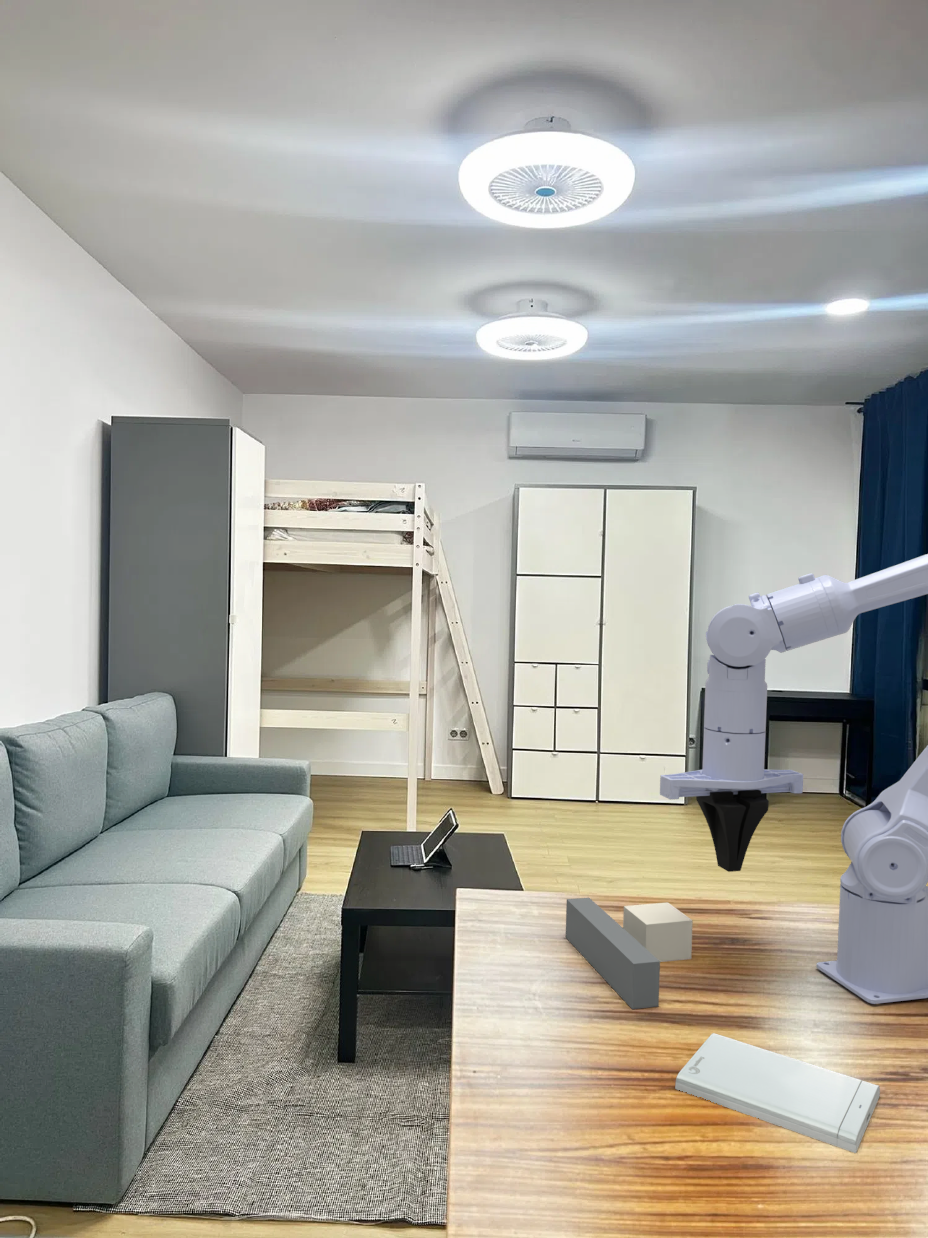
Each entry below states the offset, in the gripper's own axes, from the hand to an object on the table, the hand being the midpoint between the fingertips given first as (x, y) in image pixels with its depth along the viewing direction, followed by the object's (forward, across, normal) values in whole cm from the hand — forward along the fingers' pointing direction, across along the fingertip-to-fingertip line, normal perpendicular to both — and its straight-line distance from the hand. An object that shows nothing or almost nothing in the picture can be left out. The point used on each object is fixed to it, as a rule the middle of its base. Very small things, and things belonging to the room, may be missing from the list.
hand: (729, 868), depth 88 cm
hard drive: (+10, +9, +21) cm, 25 cm away
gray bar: (+9, +12, -1) cm, 15 cm away
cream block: (+10, +5, -4) cm, 12 cm away
